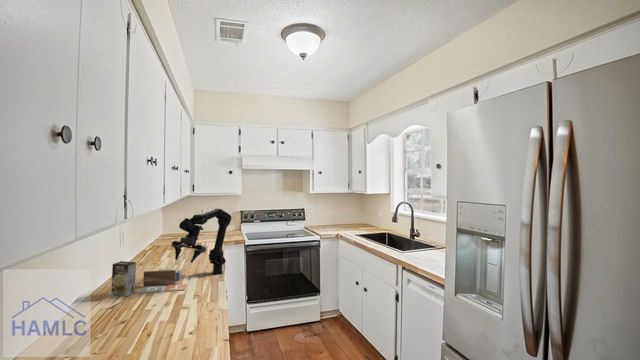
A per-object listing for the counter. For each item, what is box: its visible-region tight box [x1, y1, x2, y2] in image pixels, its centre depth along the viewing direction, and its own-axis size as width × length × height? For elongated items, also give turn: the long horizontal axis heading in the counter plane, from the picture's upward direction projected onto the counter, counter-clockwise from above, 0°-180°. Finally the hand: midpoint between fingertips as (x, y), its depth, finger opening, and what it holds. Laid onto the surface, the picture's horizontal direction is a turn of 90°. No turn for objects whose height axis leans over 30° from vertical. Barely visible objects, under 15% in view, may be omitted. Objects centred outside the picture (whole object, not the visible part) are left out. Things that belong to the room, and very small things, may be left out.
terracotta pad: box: [164, 283, 188, 293], centre depth 169 cm, size 10×10×1 cm
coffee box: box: [110, 260, 137, 297], centre depth 159 cm, size 9×6×16 cm
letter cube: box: [175, 269, 182, 282], centre depth 185 cm, size 5×5×5 cm
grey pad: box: [139, 285, 165, 295], centre depth 166 cm, size 10×10×1 cm
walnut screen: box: [142, 269, 177, 288], centre depth 174 cm, size 2×16×8 cm, turn 107°
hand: (183, 261), depth 173 cm, fingers open, 9 cm apart
